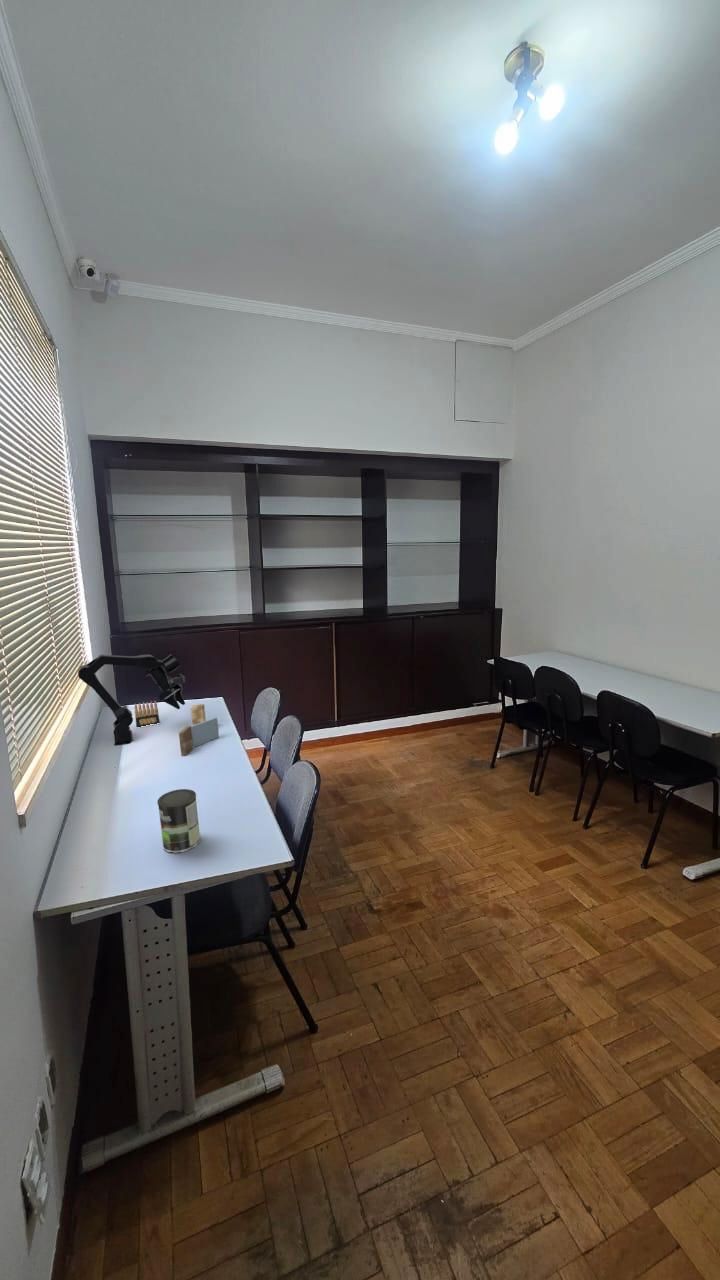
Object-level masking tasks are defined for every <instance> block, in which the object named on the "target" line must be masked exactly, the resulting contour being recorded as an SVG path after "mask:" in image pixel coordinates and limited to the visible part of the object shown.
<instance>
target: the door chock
mask: <svg viewBox="0 0 720 1280" xmlns="http://www.w3.org/2000/svg"><path fill="white" fill-rule="evenodd" d="M190 713H191V719H192V721H191V722H192V725H195V724H198V723H201V722H204V721H207V719H206V709H205V703H203V704H202V703H201V704H193V705H192V706H191V707H190Z"/></svg>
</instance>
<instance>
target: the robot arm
mask: <svg viewBox="0 0 720 1280" xmlns="http://www.w3.org/2000/svg"><path fill="white" fill-rule="evenodd" d="M104 665H107V666H108V665H110V666H112V665H113V666H114V665H115V666H133V667H138V668H141V669H146V670H145V674H144V676H145V677H148V676H150V677H151V678H152V680H153V681H154V682H155V686H156V687H159V689H160V690H161V692H160V693H159V694H158V696H157V697H158V699H159V700H160V702H163V703H165V704H167V705H169V706H172V707H173V708H175V709H177V710H180V709H181V706H180V704H181V705H182V706H185V705H186V702H185V700H184V699H185V698H184V697H183V693H182V692H183V684H185V683H186V680H185V679H186V677H185V675H183V674H182V673H179V674H176V677H171V676H168V675H167V673H170V674H171V673H172V672H174V671H176V670H177V669H178V668H179V667H181V666H182V665H181V664H180V662H179V661H178V660H177V659H176V657H175V656H174V655H173V654H169V655H168V656H167V657H165V658H164V659H162V660H161V659H158V658H155V657H154V656H153V655H151V654H148V653H147V654H139V655H131V656H130V655H115V654H114V655H113V654H112V655H111V654H110V655H109V654H105V653H104V654H103V653H102V654H99V655H98V656H97V657H96V658H93V660H91V661H89V662H88V663H87V664H83V665H81V666H80V667H79V668H78V670H77V675H78V676H77V677H78V678H79V680H81V681H82V682H83V683H85V684H86V685H87V686H89V687H91V688H92V689H93V691H95V693H96V694H97V696H99V697H100V698H101V700H102V701H103V702H104V703H105V705H107V706H108V708H109V709H110V711H112V713H113V715H114V717H115V718H116V719H115V721H114V722H113V723H112V725H113V728H114V729H113V732H112V733H113V738H114V744H113V745H114V746H118V745H127V744H128V745H129V744H131V742H132V740H133V731H132V729H131V727H130V726H131V725H132V723H133V721H134V718H133V713H132V711H131V710H130V709H129V708H128V707H127V705H126V704H125V705H124V706H122V705H120V704H119V702H118V701H117V700H116V699H115V698H114V697H113V696H112V694H111V693H110V692H109V691H108V690H107V688H106V687H105V686H104V685H103V684H102V682H101V681H100V680H99V678H98V676H97V674H96V673H97V672H98V671H99V670H100V669H101V668H102V667H104Z"/></svg>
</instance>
